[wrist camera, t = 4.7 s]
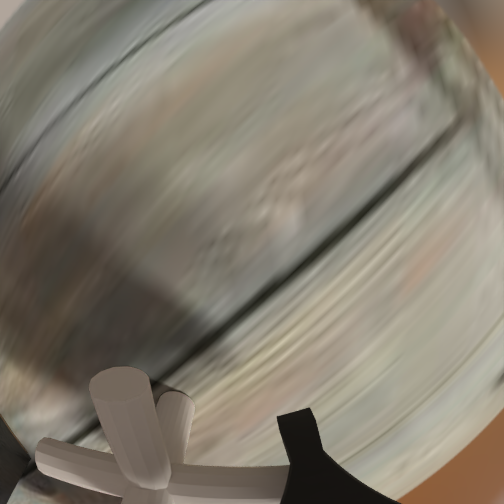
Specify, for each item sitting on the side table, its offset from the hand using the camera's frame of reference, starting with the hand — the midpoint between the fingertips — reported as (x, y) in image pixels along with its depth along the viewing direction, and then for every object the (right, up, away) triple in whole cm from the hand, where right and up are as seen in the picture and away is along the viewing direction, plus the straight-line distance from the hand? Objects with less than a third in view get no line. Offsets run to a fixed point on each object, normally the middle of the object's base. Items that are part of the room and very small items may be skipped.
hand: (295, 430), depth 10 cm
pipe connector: (-5, -1, +4) cm, 7 cm away
